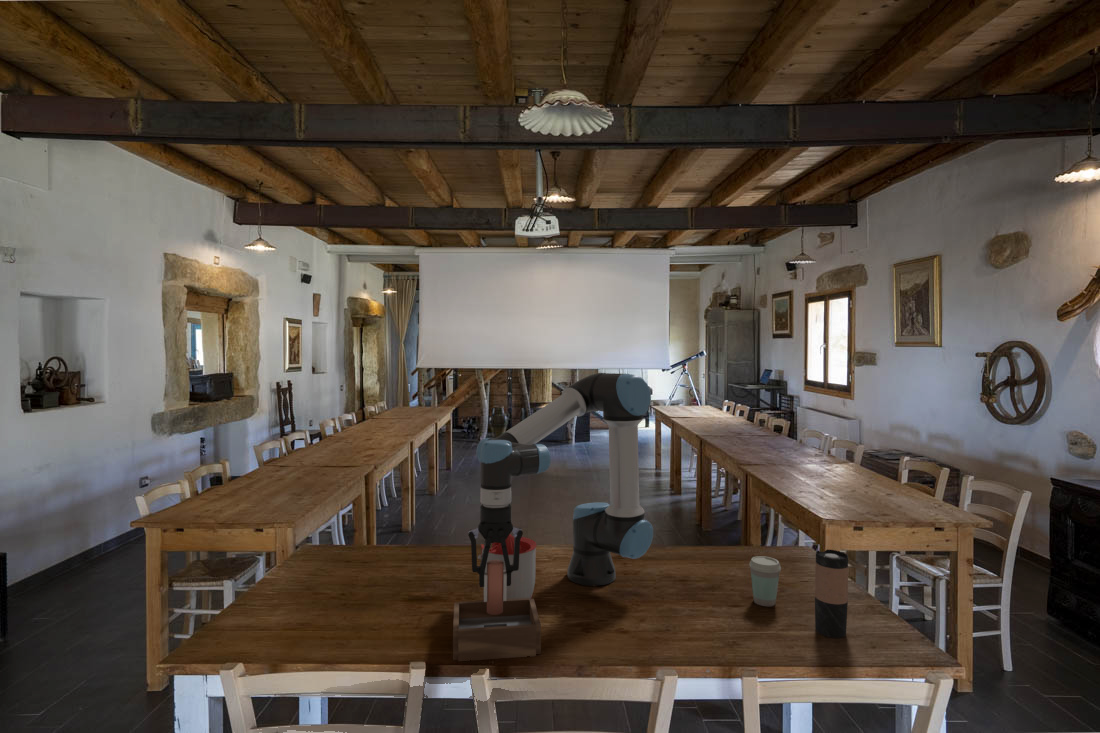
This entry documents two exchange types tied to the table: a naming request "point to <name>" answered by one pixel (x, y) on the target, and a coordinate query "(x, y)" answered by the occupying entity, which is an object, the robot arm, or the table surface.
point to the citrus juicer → (526, 573)
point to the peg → (495, 587)
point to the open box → (496, 630)
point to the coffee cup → (764, 579)
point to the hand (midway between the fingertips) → (495, 598)
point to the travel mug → (831, 593)
